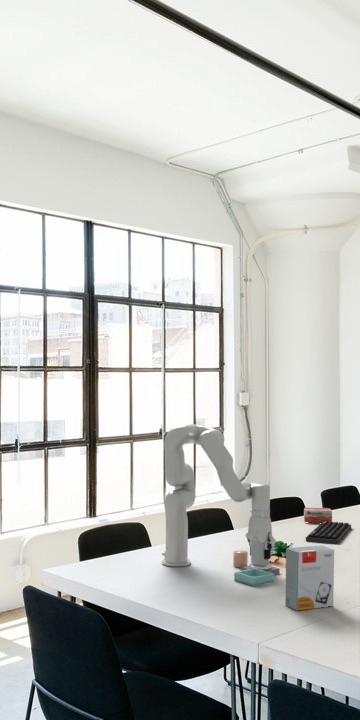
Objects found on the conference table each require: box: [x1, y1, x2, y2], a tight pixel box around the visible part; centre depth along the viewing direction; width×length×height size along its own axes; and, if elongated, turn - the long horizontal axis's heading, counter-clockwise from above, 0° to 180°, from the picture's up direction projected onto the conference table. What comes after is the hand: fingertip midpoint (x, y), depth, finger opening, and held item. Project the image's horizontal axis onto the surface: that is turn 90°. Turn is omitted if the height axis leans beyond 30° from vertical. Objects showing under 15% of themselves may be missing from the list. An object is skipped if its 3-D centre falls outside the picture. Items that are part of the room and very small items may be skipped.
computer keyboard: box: [305, 521, 352, 545], centre depth 377 cm, size 45×16×4 cm, turn 158°
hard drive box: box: [284, 545, 335, 611], centre depth 251 cm, size 16×8×20 cm, turn 114°
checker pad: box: [249, 562, 273, 570], centre depth 296 cm, size 9×9×1 cm
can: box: [250, 536, 270, 566], centre depth 297 cm, size 8×8×12 cm
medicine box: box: [303, 507, 333, 523], centre depth 411 cm, size 15×8×8 cm, turn 86°
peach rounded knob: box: [232, 549, 249, 569], centre depth 307 cm, size 6×6×6 cm
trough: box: [233, 568, 275, 587], centre depth 283 cm, size 11×11×3 cm
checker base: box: [241, 565, 280, 576], centre depth 296 cm, size 11×11×3 cm
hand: (260, 556), depth 297 cm, fingers closed on can, 7 cm apart
